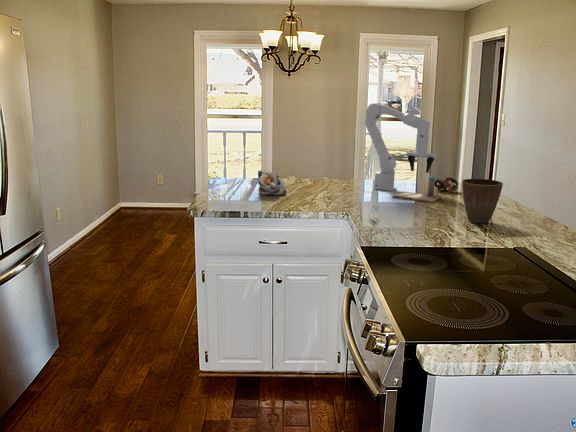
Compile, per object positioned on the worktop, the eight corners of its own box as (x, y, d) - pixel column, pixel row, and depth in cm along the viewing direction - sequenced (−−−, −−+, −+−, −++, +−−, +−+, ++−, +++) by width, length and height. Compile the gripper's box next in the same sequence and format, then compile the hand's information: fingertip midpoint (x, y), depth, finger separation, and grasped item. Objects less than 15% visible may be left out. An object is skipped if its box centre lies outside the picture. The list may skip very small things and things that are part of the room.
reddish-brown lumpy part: (450, 190, 281) (458, 178, 276) (453, 201, 274) (461, 189, 269) (429, 184, 280) (436, 171, 274) (432, 195, 272) (439, 182, 267)
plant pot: (472, 227, 203) (477, 185, 199) (450, 218, 217) (454, 179, 213) (506, 225, 207) (511, 184, 203) (483, 216, 221) (487, 178, 217)
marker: (426, 195, 255) (427, 176, 253) (428, 194, 258) (429, 175, 255) (432, 196, 254) (434, 176, 251) (434, 195, 256) (436, 176, 254)
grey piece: (291, 194, 257) (287, 171, 248) (271, 206, 252) (265, 183, 243) (274, 181, 267) (269, 158, 258) (254, 192, 262) (248, 169, 253)
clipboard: (392, 198, 255) (392, 195, 254) (402, 193, 266) (402, 190, 266) (432, 203, 245) (432, 200, 245) (440, 198, 257) (440, 195, 257)
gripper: (405, 143, 265) (403, 171, 268) (434, 146, 258) (431, 174, 261) (409, 142, 271) (407, 169, 274) (438, 144, 264) (436, 172, 267)
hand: (419, 171), depth 268 cm, fingers open, 7 cm apart
